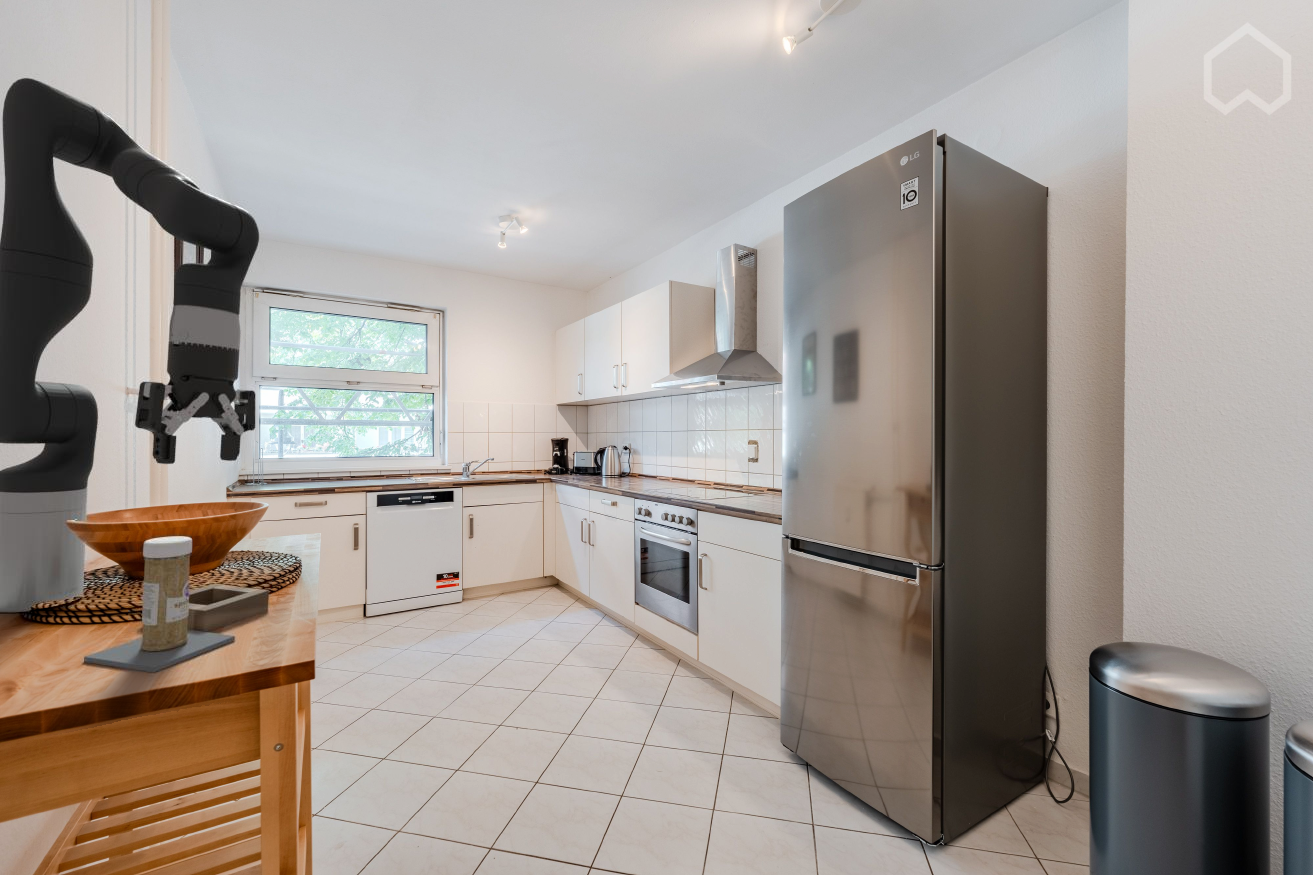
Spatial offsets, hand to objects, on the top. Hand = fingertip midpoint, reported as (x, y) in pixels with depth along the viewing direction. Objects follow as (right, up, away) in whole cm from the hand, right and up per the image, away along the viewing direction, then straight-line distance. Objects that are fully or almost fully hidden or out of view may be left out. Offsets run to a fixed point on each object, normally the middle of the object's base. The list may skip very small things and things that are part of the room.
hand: (198, 461), depth 75 cm
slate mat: (+1, -23, -7) cm, 24 cm away
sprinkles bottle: (+1, -23, -6) cm, 24 cm away
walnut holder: (-3, -23, +5) cm, 24 cm away
